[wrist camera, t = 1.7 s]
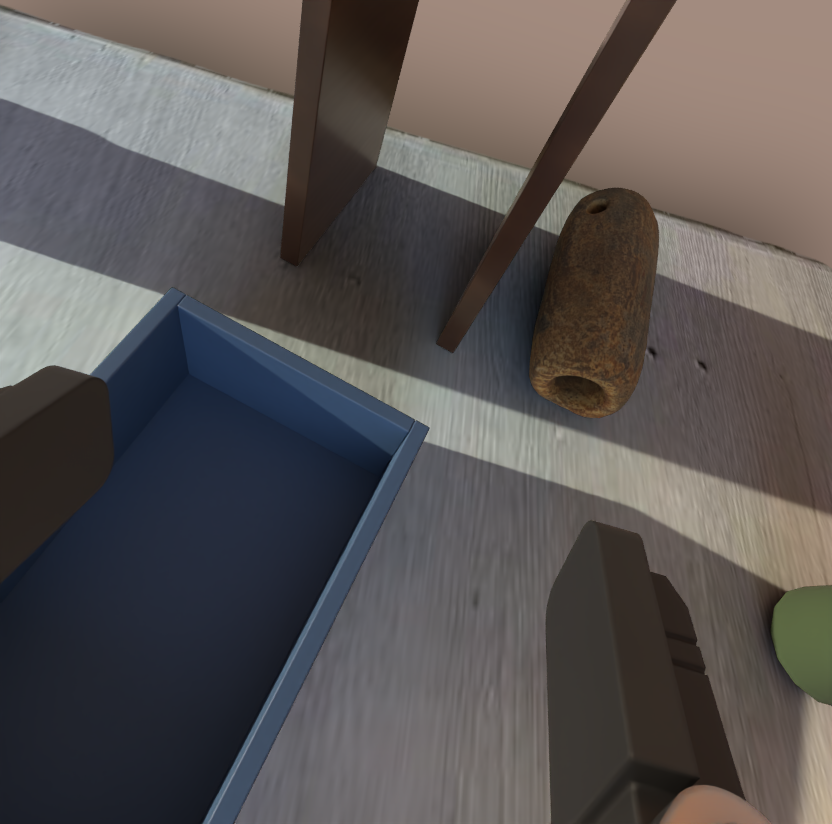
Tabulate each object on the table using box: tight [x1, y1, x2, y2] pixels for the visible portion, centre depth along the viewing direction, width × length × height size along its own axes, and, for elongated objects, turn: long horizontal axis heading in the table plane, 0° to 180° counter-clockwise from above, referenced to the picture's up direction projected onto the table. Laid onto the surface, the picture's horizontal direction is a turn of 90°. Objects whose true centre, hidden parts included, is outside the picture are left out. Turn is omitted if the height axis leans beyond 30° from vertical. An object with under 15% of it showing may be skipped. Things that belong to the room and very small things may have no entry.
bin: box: [0, 287, 429, 824], centre depth 21 cm, size 12×22×7 cm, turn 158°
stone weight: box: [529, 188, 659, 418], centre depth 35 cm, size 15×7×7 cm, turn 169°
